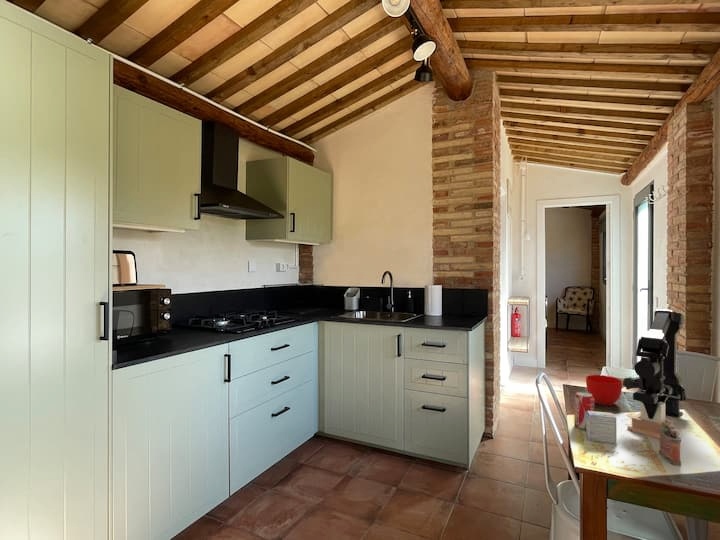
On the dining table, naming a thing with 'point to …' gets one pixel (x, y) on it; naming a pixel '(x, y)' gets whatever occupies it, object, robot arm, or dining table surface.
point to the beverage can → (582, 408)
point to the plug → (658, 416)
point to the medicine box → (601, 426)
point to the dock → (648, 426)
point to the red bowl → (604, 388)
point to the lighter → (669, 445)
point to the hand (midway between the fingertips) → (652, 417)
